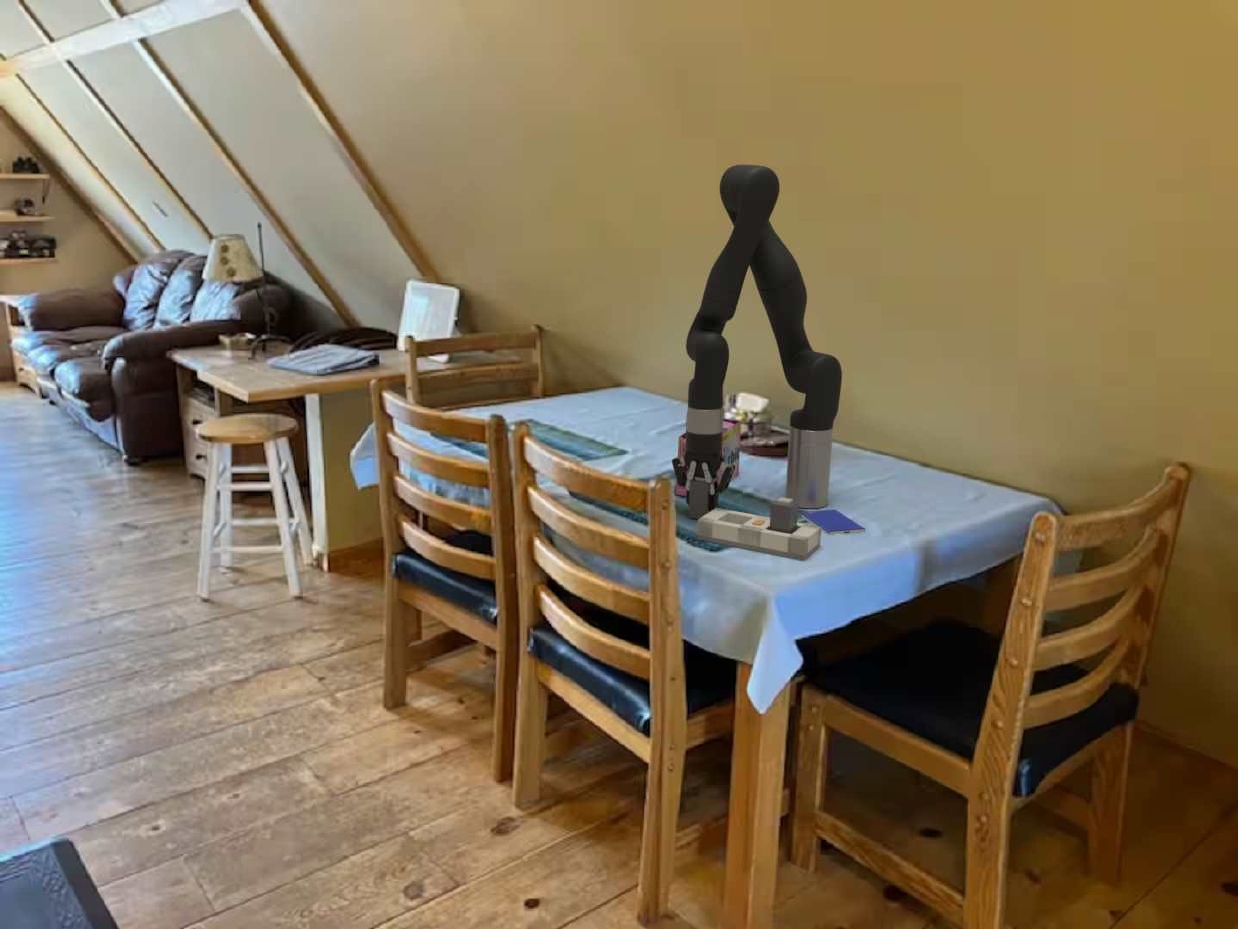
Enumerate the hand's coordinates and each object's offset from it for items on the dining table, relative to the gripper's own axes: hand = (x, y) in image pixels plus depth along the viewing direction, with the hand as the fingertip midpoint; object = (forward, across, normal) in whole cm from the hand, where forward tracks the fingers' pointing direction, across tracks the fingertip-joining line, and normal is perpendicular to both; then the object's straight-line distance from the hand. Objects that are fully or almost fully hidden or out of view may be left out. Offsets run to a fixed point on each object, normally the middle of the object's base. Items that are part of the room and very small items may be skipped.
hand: (701, 508), depth 207 cm
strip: (+2, -16, +8) cm, 18 cm away
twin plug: (+1, -21, +8) cm, 23 cm away
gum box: (+3, +9, -23) cm, 25 cm away
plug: (+2, 0, 0) cm, 2 cm away
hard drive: (+3, -25, -11) cm, 27 cm away
